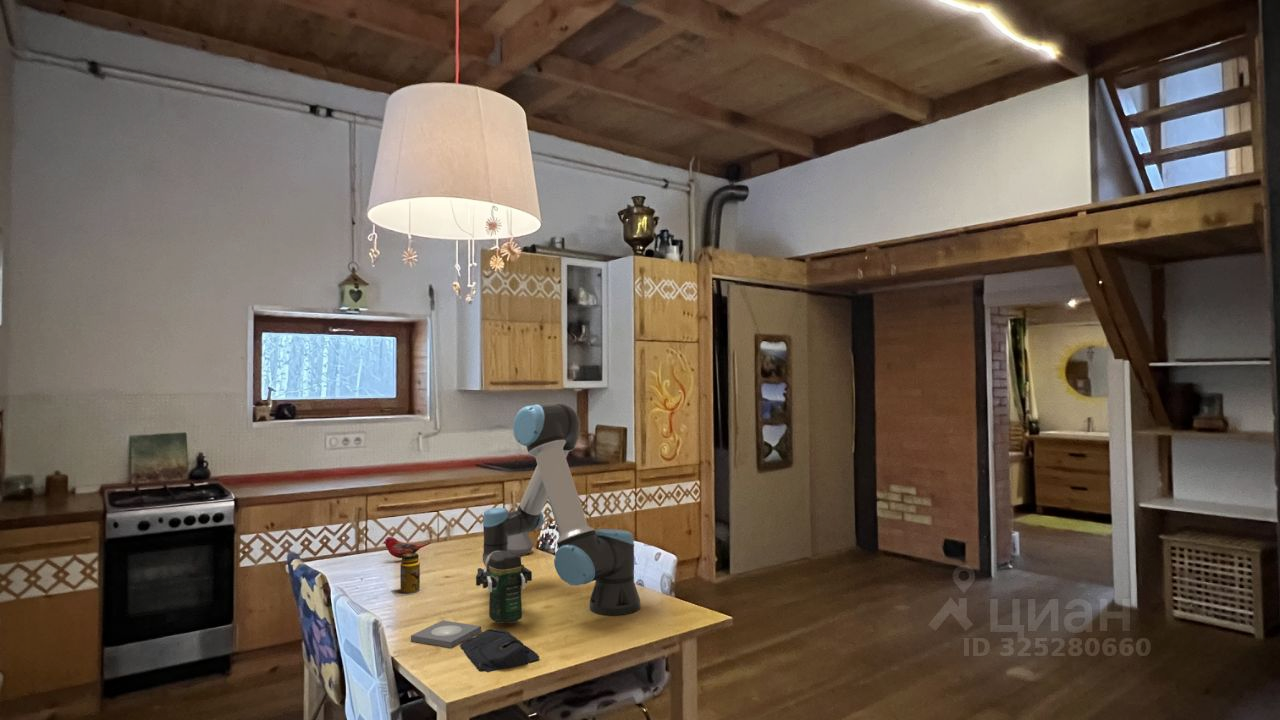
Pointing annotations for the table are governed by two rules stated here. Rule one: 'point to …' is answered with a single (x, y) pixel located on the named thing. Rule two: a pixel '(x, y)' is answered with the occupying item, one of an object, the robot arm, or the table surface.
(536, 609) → the table surface
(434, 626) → the plate
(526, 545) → the coffee pot
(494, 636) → the folded black cloth
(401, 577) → the condiment
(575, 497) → the robot arm
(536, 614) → the table surface
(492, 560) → the coffee jar
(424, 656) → the table surface
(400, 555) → the decorative bird figurine
